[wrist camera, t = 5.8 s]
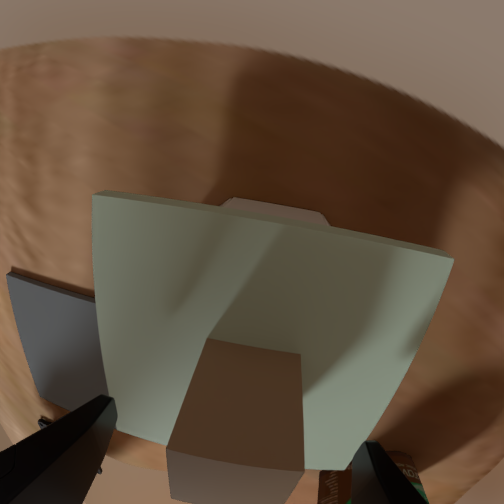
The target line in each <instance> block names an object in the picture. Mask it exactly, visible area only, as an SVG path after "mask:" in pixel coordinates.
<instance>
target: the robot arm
mask: <svg viewBox="0 0 504 504" xmlns="http://www.w3.org/2000/svg"><path fill="white" fill-rule="evenodd" d="M117 418H118V413H117V408H116V404H115V399H114V398H113V397H111V396H108V395H105V394H100V395H98V396H97V397H95V398H93V399H92V400H90V401H88V402H87V403H85V404H83V405H82V406H80V407H78V408H77V409H75V410H73V411H72V412H70V413H68V414H67V415H65V416H63V417H61V418H60V419H58V420H56V421H55V422H53V423H51V424H50V423H48V422H46V421H44V420H42V419H39V420H38V424H39V426H40V428H41V430H39V431H37V432H36V433H34V434H32V435H30V436H29V437H27V438H25V439H23V440H21V441H20V442H18V443H16V445H15V444H14V445H12V446H11V447H9V448H7V449H5V450H3V451H1V452H0V504H82V503H83V501H84V499H85V497H86V495H87V493H88V490H89V489H90V487H91V484H92V482H93V480H94V478H95V476H96V474H97V473H98V474H101V473H102V469H101V464H102V461H103V459H104V457H105V454H106V451H107V448H108V445H109V442H110V439H111V436H112V433H113V430H114V428H115V425H116V422H117ZM351 504H428V502H427V501H426V500H425V499H424V498H423V496H422V495H421V494H420V493H419V492H418V490H417V489H416V488H415V487H414V486H413V484H412V483H411V482H410V481H409V480H408V478H407V477H406V476H405V475H404V473H403V472H402V471H401V470H400V469H399V467H398V466H397V465H396V464H395V462H394V461H393V460H392V459H391V457H390V456H389V455H388V454H387V453H386V451H385V450H384V449H383V448H382V446H381V445H380V444H379V443H378V442H377V441H364V442H363V443H362V444H361V445H360V447H359V448H358V450H357V451H356V453H355V454H354V456H353V460H352V486H351Z"/></svg>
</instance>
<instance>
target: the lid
mask: <svg viewBox="0 0 504 504" xmlns="http://www.w3.org/2000/svg"><path fill="white" fill-rule="evenodd" d="M92 255H93V276H94V290H95V302H96V312H97V321H98V330H99V338H100V345H101V352H102V358H103V364H104V370H105V376H106V381H107V387H108V392H109V396H111V397H113V398H114V399H115V404H116V408H117V413H118V418H117V422H116V427H117V430H118V431H121V432H124V433H127V434H130V435H133V436H136V437H139V438H142V439H146V440H149V441H152V442H156V443H159V444H163V445H166V446H167V447H166V457H167V467H168V477H169V486H170V494H171V498H172V499H176V500H179V501H183V502H188V503H192V504H284V503H285V502H286V500H287V499H288V497H289V496H290V494H291V493H292V491H293V490H294V488H295V487H296V485H297V484H298V482H299V480H300V479H301V477H302V476H303V474H304V472H305V469H318V470H345V469H346V467H347V466H348V465H349V463H350V462H351V460H352V459H353V456H354V454H355V453H356V451H357V450H358V448H359V447H360V445H361V444H362V443H363V442H364V441H365V440H366V439H367V438H368V436H369V434H370V433H371V431H372V430H373V428H374V427H375V425H376V424H377V422H378V421H379V419H380V417H381V416H382V414H383V412H384V411H385V409H386V407H387V406H388V404H389V402H390V401H391V399H392V397H393V396H394V394H395V392H396V390H397V388H398V387H399V385H400V383H401V381H402V379H403V377H404V376H405V374H406V372H407V370H408V368H409V366H410V364H411V362H412V360H413V358H414V356H415V354H416V352H417V350H418V348H419V346H420V344H421V342H422V340H423V337H424V335H425V333H426V331H427V329H428V326H429V324H430V322H431V319H432V317H433V315H434V312H435V310H436V308H437V305H438V303H439V300H440V298H441V295H442V292H443V290H444V287H445V285H446V282H447V279H448V276H449V274H450V271H451V268H452V265H453V262H454V258H452V257H451V256H450V255H449V254H447V253H446V252H445V251H444V250H440V249H435V248H431V247H427V246H422V245H418V244H413V243H409V242H404V241H400V240H395V239H391V238H386V237H381V236H376V235H372V234H367V233H362V232H357V231H352V230H347V229H342V228H337V227H332V226H327V225H322V224H317V223H311V222H306V221H301V220H295V219H290V218H284V217H279V216H273V215H268V214H262V213H256V212H250V211H244V210H238V209H232V208H226V207H220V206H214V205H207V204H201V203H195V202H188V201H181V200H175V199H168V198H161V197H154V196H147V195H139V194H132V193H124V192H117V191H109V190H104V191H101V192H98V193H95V194H92Z"/></svg>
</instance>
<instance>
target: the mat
mask: <svg viewBox="0 0 504 504" xmlns="http://www.w3.org/2000/svg"><path fill="white" fill-rule="evenodd" d="M6 278H7V284H8V289H9V294H10V299H11V303H12V308H13V312H14V316H15V320H16V324H17V328H18V332H19V335H20V339H21V342H22V346H23V349H24V352H25V356H26V359H27V362H28V365H29V368H30V371H31V374H32V377H33V379H34V382H35V385H36V387H37V390H38V393H39V395H40V397H42V398H44V399H46V400H48V401H50V402H52V403H54V404H56V405H58V406H60V407H62V408H64V409H67V410H69V411H71V412H72V411H73V410H75V409H77V408H78V407H80V406H82V405H83V404H85V403H87V402H88V401H90V400H92V399H93V398H95V397H97V396H98V395H100V394H105V395H108V396H109V392H108V387H107V381H106V376H105V370H104V364H103V358H102V352H101V345H100V338H99V330H98V321H97V312H96V302H95V298H92V297H89V296H85V295H82V294H78V293H75V292H72V291H68V290H65V289H62V288H58V287H55V286H52V285H49V284H46V283H42V282H39V281H36V280H33V279H30V278H27V277H24V276H21V275H18V274H15V273H13V272H9V273H8V274H6ZM114 429H116V430H117V427H116V425H115V428H114Z"/></svg>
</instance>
